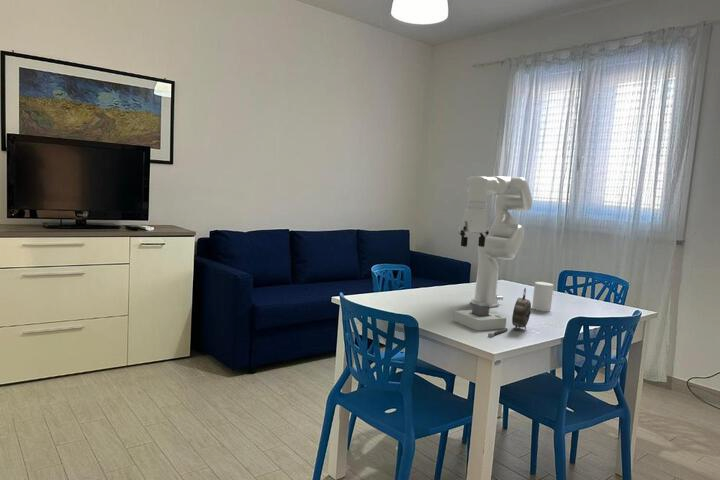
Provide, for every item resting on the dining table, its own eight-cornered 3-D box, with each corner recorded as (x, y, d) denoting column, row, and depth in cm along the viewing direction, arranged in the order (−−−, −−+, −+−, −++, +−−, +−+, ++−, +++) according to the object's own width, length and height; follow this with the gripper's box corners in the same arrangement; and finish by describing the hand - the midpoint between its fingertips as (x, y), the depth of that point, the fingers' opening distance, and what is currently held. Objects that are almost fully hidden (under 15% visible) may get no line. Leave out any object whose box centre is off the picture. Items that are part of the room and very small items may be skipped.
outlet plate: (480, 318, 213) (481, 308, 213) (505, 328, 201) (506, 317, 201) (453, 320, 206) (454, 310, 206) (477, 330, 194) (479, 319, 194)
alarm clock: (516, 325, 207) (521, 285, 206) (530, 327, 205) (535, 287, 203) (509, 330, 198) (514, 288, 196) (524, 333, 195) (529, 291, 194)
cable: (504, 330, 198) (505, 327, 198) (508, 331, 197) (508, 328, 197) (488, 336, 188) (488, 333, 187) (491, 337, 187) (491, 334, 186)
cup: (551, 309, 243) (554, 283, 242) (549, 312, 236) (552, 286, 235) (533, 306, 247) (536, 281, 245) (531, 309, 239) (533, 283, 238)
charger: (479, 322, 207) (481, 302, 206) (487, 325, 203) (489, 305, 202) (470, 323, 205) (472, 303, 204) (478, 326, 201) (481, 305, 200)
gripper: (485, 206, 227) (481, 245, 228) (454, 204, 218) (450, 244, 220) (498, 207, 220) (494, 247, 222) (466, 205, 212) (462, 247, 213)
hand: (472, 246), depth 221 cm, fingers open, 9 cm apart
